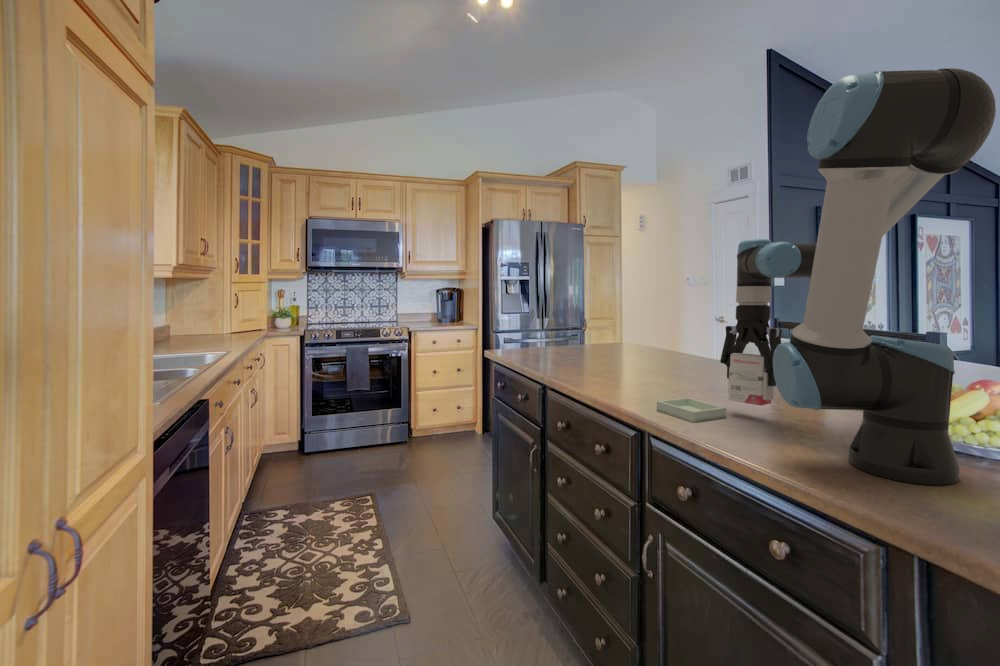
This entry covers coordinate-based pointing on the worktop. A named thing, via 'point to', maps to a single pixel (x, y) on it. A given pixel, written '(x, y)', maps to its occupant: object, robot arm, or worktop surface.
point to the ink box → (747, 379)
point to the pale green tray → (691, 409)
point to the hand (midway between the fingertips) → (750, 395)
